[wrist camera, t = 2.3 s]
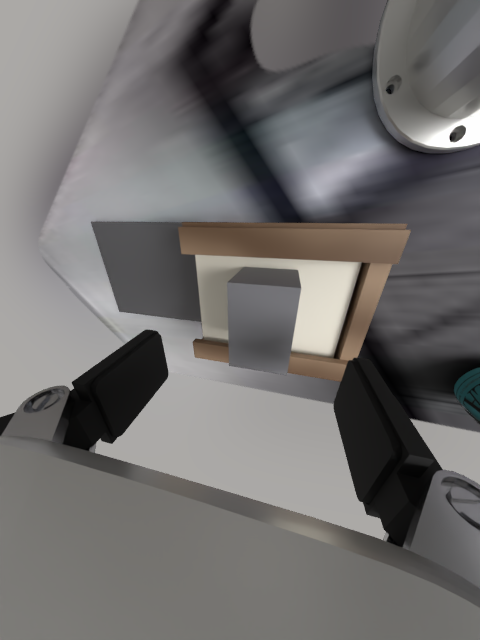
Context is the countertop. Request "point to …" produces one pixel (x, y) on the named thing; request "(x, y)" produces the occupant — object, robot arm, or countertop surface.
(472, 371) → the beverage bottle
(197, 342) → the walnut box
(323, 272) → the cover plate
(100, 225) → the charcoal mat
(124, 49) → the countertop surface
